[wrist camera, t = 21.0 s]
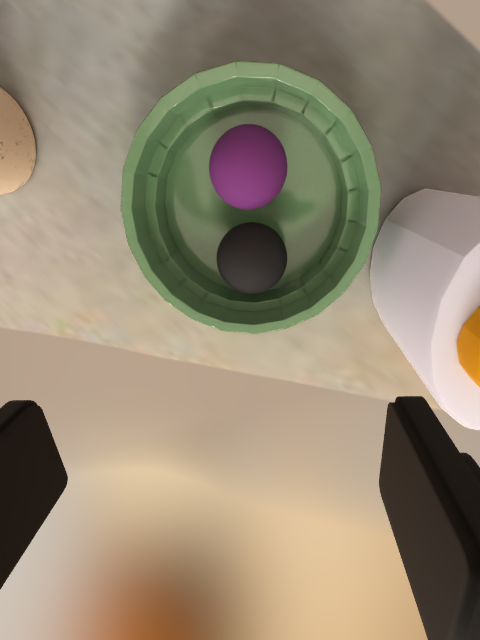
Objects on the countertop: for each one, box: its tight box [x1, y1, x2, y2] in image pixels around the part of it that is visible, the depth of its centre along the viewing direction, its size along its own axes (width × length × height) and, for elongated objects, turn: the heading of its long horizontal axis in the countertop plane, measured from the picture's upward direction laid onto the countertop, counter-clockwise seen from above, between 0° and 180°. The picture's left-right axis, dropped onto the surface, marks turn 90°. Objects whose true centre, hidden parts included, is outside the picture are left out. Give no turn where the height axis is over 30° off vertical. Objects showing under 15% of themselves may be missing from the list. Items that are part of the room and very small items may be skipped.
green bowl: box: [121, 61, 381, 334], centre depth 26 cm, size 18×18×6 cm
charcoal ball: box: [217, 222, 287, 294], centre depth 27 cm, size 6×6×6 cm
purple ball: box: [209, 124, 288, 210], centre depth 25 cm, size 6×6×6 cm
